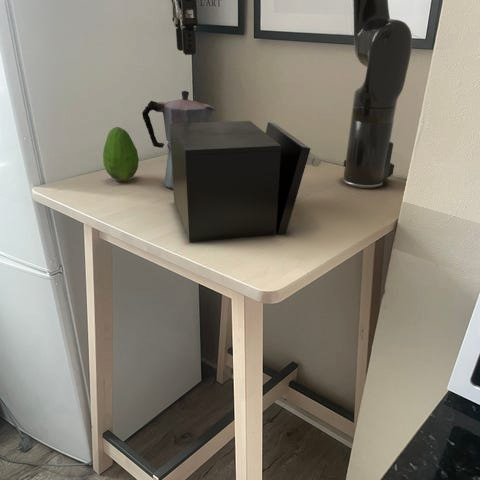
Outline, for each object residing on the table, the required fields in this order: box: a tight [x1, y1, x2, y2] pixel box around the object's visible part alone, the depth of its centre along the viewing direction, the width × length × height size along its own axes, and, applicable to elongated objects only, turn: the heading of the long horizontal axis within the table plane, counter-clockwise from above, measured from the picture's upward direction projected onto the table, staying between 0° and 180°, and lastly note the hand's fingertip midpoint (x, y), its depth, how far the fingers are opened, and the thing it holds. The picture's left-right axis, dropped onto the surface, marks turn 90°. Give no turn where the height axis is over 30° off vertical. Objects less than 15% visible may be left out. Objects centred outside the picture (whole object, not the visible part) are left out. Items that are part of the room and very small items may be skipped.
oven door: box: [265, 121, 322, 236], centre depth 96 cm, size 5×20×16 cm, turn 14°
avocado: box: [102, 126, 140, 182], centre depth 113 cm, size 8×8×12 cm
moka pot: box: [141, 90, 216, 190], centre depth 108 cm, size 10×15×20 cm, turn 107°
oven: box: [170, 120, 281, 244], centre depth 93 cm, size 16×20×16 cm
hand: (186, 52), depth 92 cm, fingers open, 8 cm apart
